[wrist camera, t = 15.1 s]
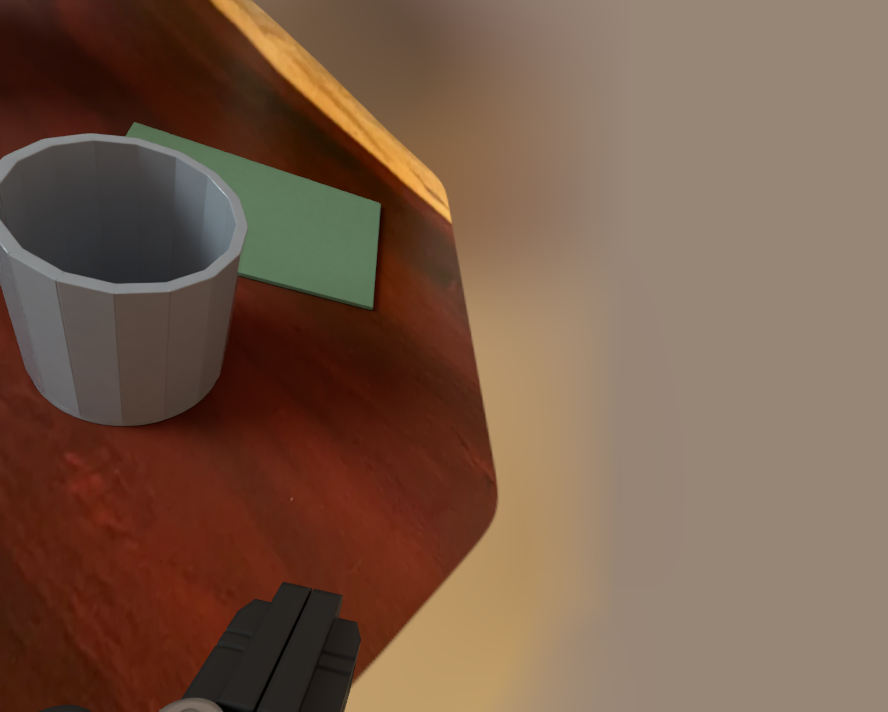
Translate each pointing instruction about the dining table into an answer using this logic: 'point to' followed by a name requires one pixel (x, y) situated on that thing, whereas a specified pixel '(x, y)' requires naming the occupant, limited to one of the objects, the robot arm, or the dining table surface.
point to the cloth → (294, 225)
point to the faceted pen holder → (119, 274)
